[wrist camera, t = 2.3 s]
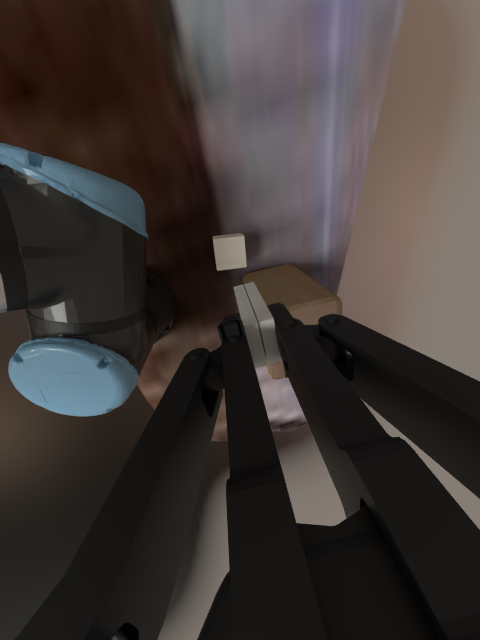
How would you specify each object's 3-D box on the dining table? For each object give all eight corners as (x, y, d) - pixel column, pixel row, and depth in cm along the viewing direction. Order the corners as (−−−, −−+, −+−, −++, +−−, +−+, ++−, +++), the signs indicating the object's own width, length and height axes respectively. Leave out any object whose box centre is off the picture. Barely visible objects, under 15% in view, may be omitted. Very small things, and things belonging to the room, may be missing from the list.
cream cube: (216, 264, 43) (216, 270, 38) (212, 236, 40) (212, 239, 36) (243, 261, 43) (246, 267, 38) (241, 233, 41) (244, 235, 36)
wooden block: (296, 308, 48) (345, 366, 30) (250, 319, 48) (271, 384, 30) (291, 261, 44) (345, 297, 26) (240, 273, 44) (258, 317, 26)
